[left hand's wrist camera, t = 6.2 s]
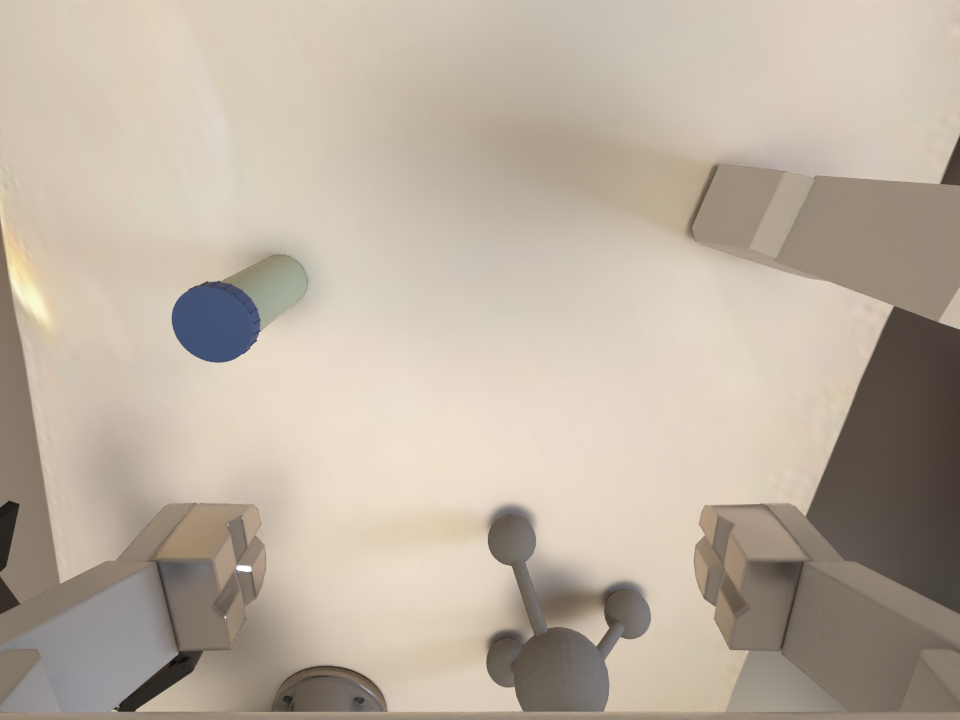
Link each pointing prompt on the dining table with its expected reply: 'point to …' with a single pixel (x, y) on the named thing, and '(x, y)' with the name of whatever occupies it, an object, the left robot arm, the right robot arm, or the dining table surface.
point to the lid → (216, 321)
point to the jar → (272, 286)
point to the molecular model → (556, 638)
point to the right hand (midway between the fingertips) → (95, 545)
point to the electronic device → (843, 233)
